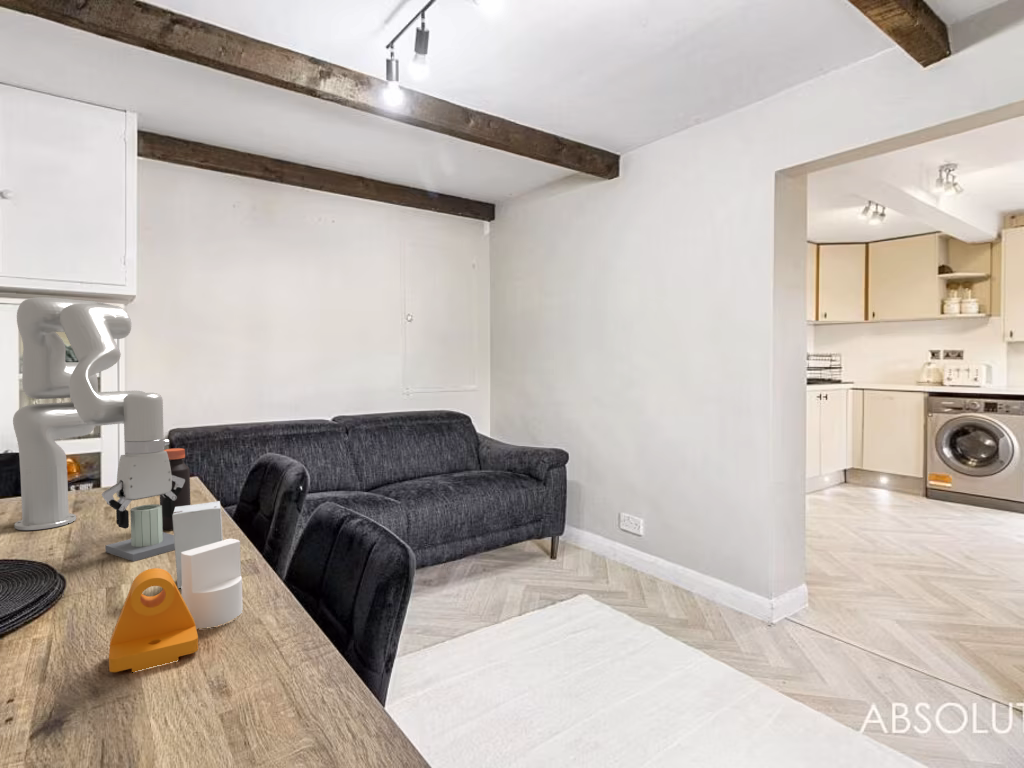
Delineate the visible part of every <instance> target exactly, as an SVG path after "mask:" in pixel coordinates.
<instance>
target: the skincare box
mask: <svg viewBox="0 0 1024 768" xmlns="http://www.w3.org/2000/svg"><path fill="white" fill-rule="evenodd" d="M172 517H173V530H172V531H173V535H174V544H175V550H174V554H175V558H174V559H175V568H176V582H177V584H176V586H177V588H178V590H180V589H179V588H181V587H182V572H181V552H184V551H187V550H191V549H194V548H198V547H202V546H205V545H209V544H212V543H216V542H219V541H223V540H224V539H223V519H222V518H223V517H222V508H221V501H220V500H218V501H211V502H205V503H204V502H203V503H197V504H191V505H187V506H179V507H175V509H174V512H173V515H172Z"/></svg>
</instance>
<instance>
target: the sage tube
mask: <svg viewBox="0 0 1024 768" xmlns="http://www.w3.org/2000/svg"><path fill="white" fill-rule="evenodd" d="M129 512H130V514H129V515H130V534H131V535H130V539H131V544H132V546H135V547H144V546H151V545H155V544H158V543H160V542H162V541H163V532H164V529H163V524H162V505H160V503H158V504H156V503H155V504H154V503H153V504H144V505H137V506H134V507H132V508H130V511H129Z"/></svg>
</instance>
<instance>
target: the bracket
mask: <svg viewBox="0 0 1024 768" xmlns="http://www.w3.org/2000/svg"><path fill="white" fill-rule="evenodd" d="M151 587H160V588H162V589H161V591H160V592H159V593H157V594H156V595H151V596H147V595H145V594H144V591H145V590H147V589H149V588H151ZM109 641H110V642H109V648H108V650H109V652H108V671H109V673H118V672H123V671H126V670H131V673H132V672H135V671H138V670H142V669H146V668H149V667H153V666H157V665H162V664H165V663H170V662H173V661H177V660H179V657H183V656H186V655H190V654H194V653H196V652H198V650H199V634H198V631H197V629H196V626H195V621H194V619H193V617H192V615H191V613H190V611H189V609H188V607H187V605H186V603H185V601H184V599H183V597H182V593H181V591H180V589H178V585H177V584H176V581H175V580H174V579H173V576H172V575H171V573H169V572H168V571H167V570H166V569H163V568H159V567H154V568H149V569H146V570H143V571H142V572H140V573H139V574H138V575H137V576H136V577H135V578H134V580H132V583H131V585H130V588H129V590H128V594H127V596H126V599H125V600H124V603H123V606H122V608H121V610H120V613H119V616H118V619H117V621H116V624H115V626H114V630H113V631H112V634H111V636H110V639H109Z"/></svg>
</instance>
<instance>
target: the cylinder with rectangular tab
mask: <svg viewBox="0 0 1024 768" xmlns="http://www.w3.org/2000/svg"><path fill="white" fill-rule="evenodd" d="M241 565H242V564H241V541H240V540H239V539H235V538H227V539H223V541H219V542H216V543H212V544H209V545H205V546H202V547H198V548H194V549H191V550H187V551H184V552H181V572H182V587H181V589H180V590H181V596H182V597H183V599H184V601H185V603H186V605H187V607H188V609H189V611H190V613H191V615H192V617H193V619H194V621H195V626H196V628H207V627H214V626H218V625H220V624H224V623H226V622H228V621H230V620H232V619H234V618H236V617H237V616H239V615H240V614H241V613H242V614H243V612H242V610H243V607H244V606H243V577H242V569H241Z"/></svg>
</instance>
